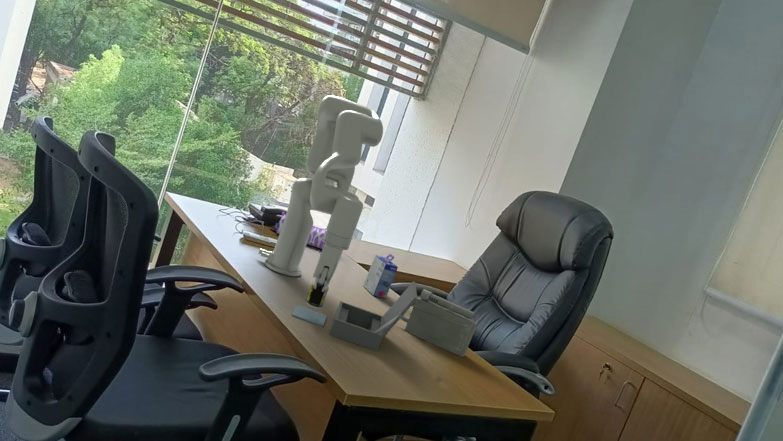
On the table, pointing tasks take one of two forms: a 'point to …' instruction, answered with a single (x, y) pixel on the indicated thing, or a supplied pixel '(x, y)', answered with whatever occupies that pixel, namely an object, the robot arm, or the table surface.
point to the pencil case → (315, 234)
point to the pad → (309, 315)
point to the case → (370, 320)
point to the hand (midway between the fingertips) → (315, 300)
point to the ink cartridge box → (380, 276)
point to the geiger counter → (441, 323)
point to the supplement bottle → (322, 297)
